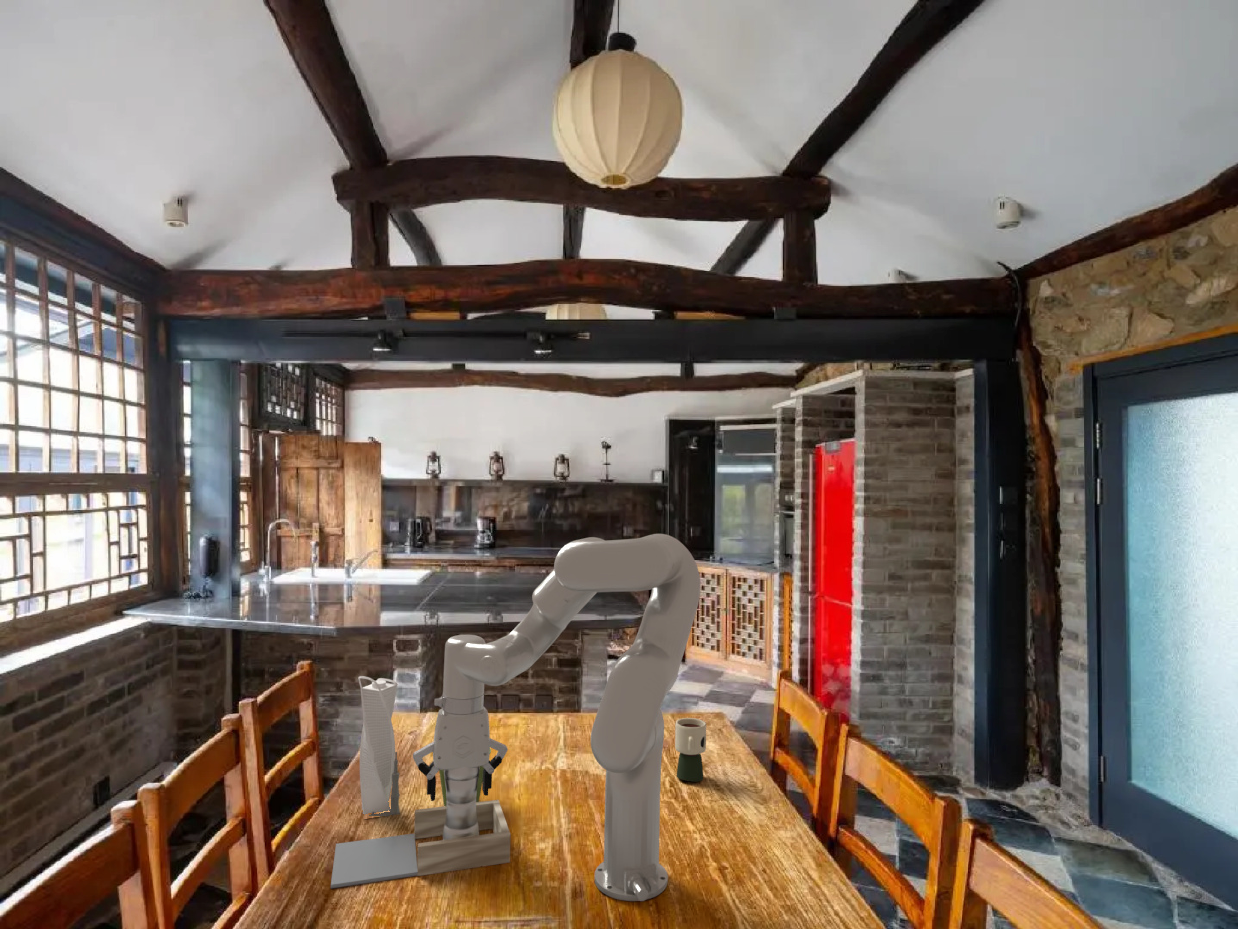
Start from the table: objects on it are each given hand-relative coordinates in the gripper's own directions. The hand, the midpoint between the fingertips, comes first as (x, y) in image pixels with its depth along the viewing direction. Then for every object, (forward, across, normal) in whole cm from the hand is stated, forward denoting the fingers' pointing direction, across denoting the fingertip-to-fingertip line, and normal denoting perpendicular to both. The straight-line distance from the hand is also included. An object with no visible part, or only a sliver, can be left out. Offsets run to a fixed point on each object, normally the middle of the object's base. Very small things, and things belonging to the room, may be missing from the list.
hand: (459, 795), depth 134 cm
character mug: (+9, +55, +17) cm, 58 cm away
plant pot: (+10, +3, +18) cm, 21 cm away
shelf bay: (+10, +1, 0) cm, 10 cm away
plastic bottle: (+10, +1, 0) cm, 10 cm away
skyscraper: (+11, -14, +20) cm, 27 cm away
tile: (+10, -14, 0) cm, 18 cm away
